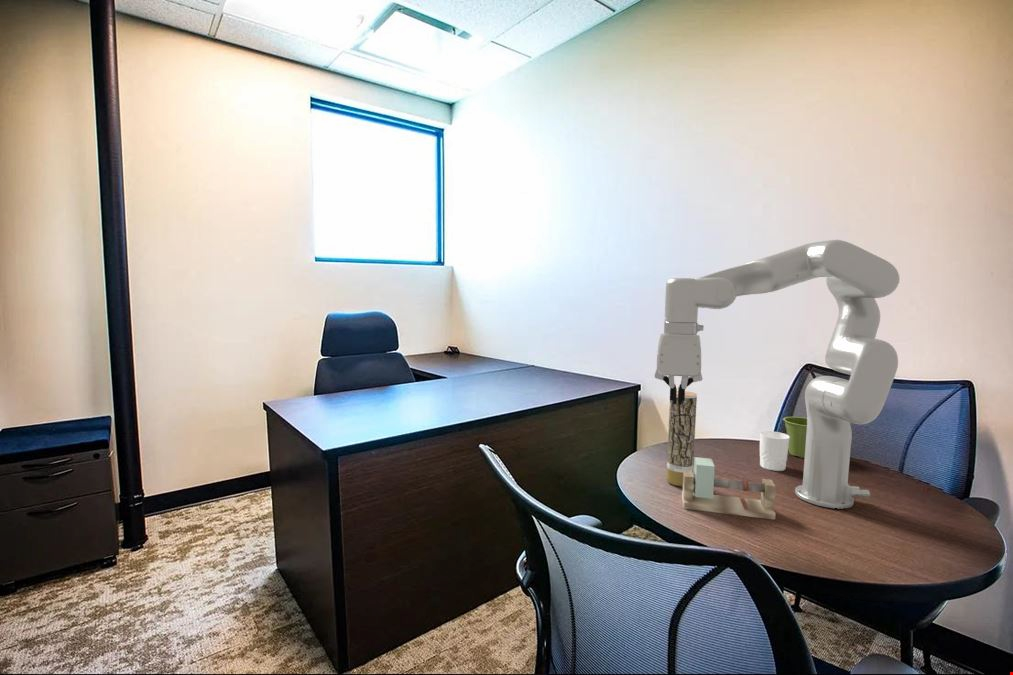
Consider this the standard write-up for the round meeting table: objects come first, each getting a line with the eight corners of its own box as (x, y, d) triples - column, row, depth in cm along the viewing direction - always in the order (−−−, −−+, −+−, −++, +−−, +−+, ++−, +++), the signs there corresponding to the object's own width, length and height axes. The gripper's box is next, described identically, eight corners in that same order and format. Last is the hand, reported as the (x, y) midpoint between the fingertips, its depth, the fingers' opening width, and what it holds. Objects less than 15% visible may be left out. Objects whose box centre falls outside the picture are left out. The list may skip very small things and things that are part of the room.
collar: (709, 489, 122) (711, 458, 122) (712, 498, 117) (714, 466, 116) (692, 487, 124) (694, 457, 123) (695, 496, 118) (696, 464, 117)
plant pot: (832, 460, 154) (835, 425, 152) (800, 462, 151) (803, 427, 150) (802, 448, 165) (805, 415, 164) (772, 450, 163) (774, 417, 161)
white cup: (788, 465, 148) (790, 433, 147) (786, 474, 141) (789, 440, 140) (759, 460, 152) (761, 429, 151) (756, 468, 146) (758, 435, 145)
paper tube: (688, 489, 130) (692, 397, 127) (662, 483, 134) (666, 393, 131) (695, 481, 135) (700, 393, 132) (671, 475, 139) (675, 389, 136)
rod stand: (767, 506, 120) (769, 477, 119) (775, 519, 113) (777, 488, 112) (681, 496, 125) (683, 468, 124) (683, 508, 118) (685, 478, 118)
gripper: (711, 329, 120) (707, 402, 122) (647, 327, 124) (644, 398, 126) (716, 331, 112) (712, 409, 114) (647, 329, 117) (644, 404, 118)
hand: (676, 403), depth 120 cm, fingers closed
